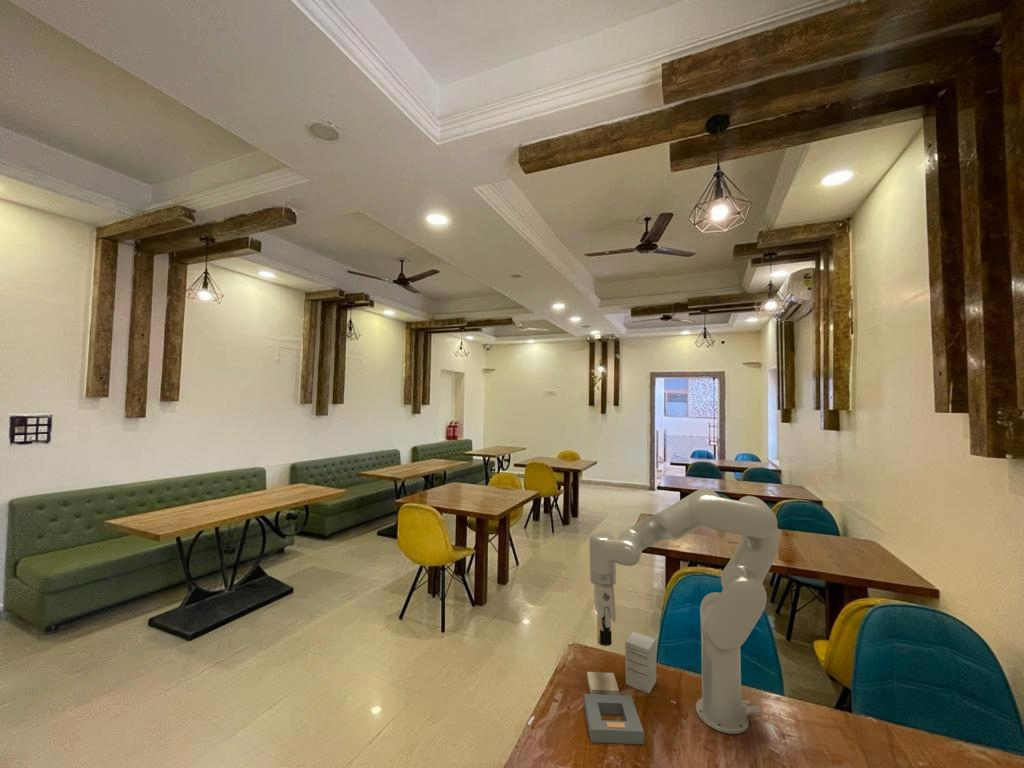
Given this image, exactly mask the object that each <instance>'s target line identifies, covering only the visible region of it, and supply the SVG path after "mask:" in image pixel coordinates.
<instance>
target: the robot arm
mask: <svg viewBox="0 0 1024 768" xmlns="http://www.w3.org/2000/svg"><path fill="white" fill-rule="evenodd" d="M703 526H704V527H706V528H710V529H712V530H716V531H720V532H724V533H729V534H735V535H739V536H741V538H740V541H739V542H738V545H737V547H736V550H735V551H734V553H733V554H732V556H731V558H730V560H729V561H728V563H727V564H726V565H725V567H724V568H723V570H722V571H721V576H720V583H721V587H722V591H721V592H718V591H717V592H714V591H713V592H710V593H708V594H706V595H705V596H704V597H703V599H702V600H701V602H700V607H699V616H700V637H701V638H700V639H701V643H700V644H701V647H700V649H701V655H700V656H701V698H699V699H698V700H697V701H696V704H695V711H696V714H697V716H698V717H699V719H701V721H702V722H703V723H705V724H706V725H707V726H708V727H710V728H712V729H713V730H716V731H718V732H720V733H725V734H729V735H737V734H742V733H744V732H745V731H747V730H748V728H749V718H748V717H749V716H750V715H758V716H759V715H760V716H761V715H762V710H761V708H760V706H759V705H751V700H746V699H743V700H742V675H741V674H742V671H741V665H742V663H741V660H742V659H741V657H742V656H741V646H742V645H744V643H745V642H746V641H747V639H748V637H749V636H750V635H751V633H752V631H753V629H754V628H755V626H756V625H757V623H758V621H759V620H760V618H761V616H762V615H763V613H764V610H765V608H766V605H767V591H766V588H765V586H764V584H763V582H764V580H765V578H766V576H767V574H768V572H769V570H770V569H771V567H772V565H773V564H774V561H775V560H776V557H777V554H778V551H779V546H780V533H779V527H778V519H777V516H776V514H775V513H774V511H773V510H772V509H771V508H770V507H769V506H768V504H767V503H766V502H764V501H763V500H762V499H760V498H758V497H756V496H752V495H746V496H743V497H741V498H740V499H739V500H735V499H731V498H725V497H722V496H720V495H719V494H718V493H717V492H716V491H714V490H713V489H711V488H701V489H698V490H697V489H696V491H693V492H692V493H690V494H688V495H687V496H685V497H683V498H682V499H680V500H679V501H677V502H675V503H673V504H671V505H669V506H668V507H666V508H664V509H662V510H661V511H659V512H657V513H654V514H652V515H650V516H648V517H646V518H645V519H642V520H640V521H639V522H636V523H635V524H634V525H632V526H630V527H628V528H626V529H625V530H624V531H622V532H621V533H620V534H619V536H618V538H615V537H614V536H613V535H612V534H610V533H607V532H595V533H592V534H591V535H590V536H589V541H588V542H589V545H588V546H589V581H590V583H591V584H592V585H593V597H594V598H593V599H594V600H593V601H594V609H595V612H596V616H597V615H598V618H599V620H600V621H601V630H600V643H601V645H600V646H602V645H610V646H611V645H612V621H613V622H616V621H617V613H616V600H615V599H616V598H615V597H616V596H615V588H614V585H616V583H617V581H616V580H617V578H616V577H617V576H616V575H617V574H616V572H617V571H616V568H617V567H616V564H618V565H622V566H626V567H633V566H635V565H636V564H638V563H639V562H640V559H641V557H642V551H644V550H646V549H647V548H648V547H650V546H652V545H654V544H656V543H658V542H661V541H665V540H673V541H674V540H675V541H676V540H680V539H682V538H684V537H685V536H687V535H689V534H691V533H692V532H694V531H696V530H697V529H699V528H701V527H703ZM610 616H611V620H610ZM602 617H605V619H602ZM603 622H605V624H604V625H603Z"/></svg>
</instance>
